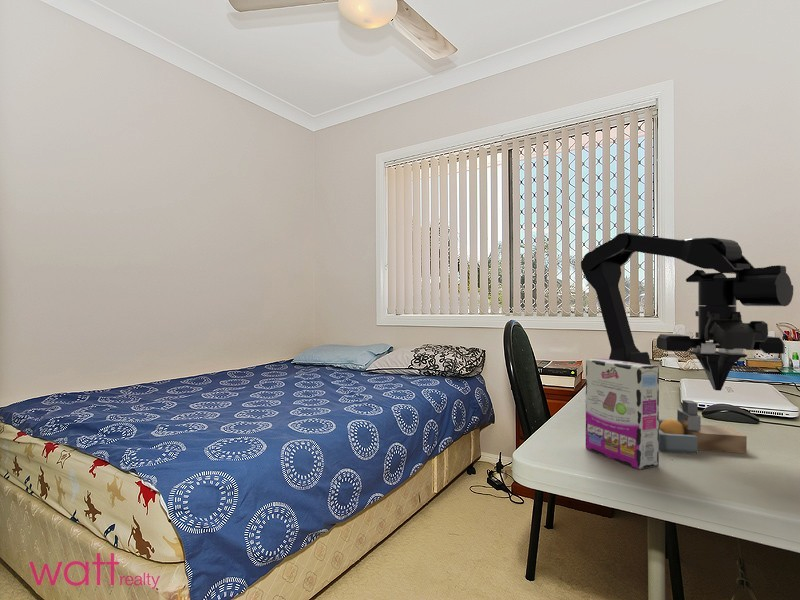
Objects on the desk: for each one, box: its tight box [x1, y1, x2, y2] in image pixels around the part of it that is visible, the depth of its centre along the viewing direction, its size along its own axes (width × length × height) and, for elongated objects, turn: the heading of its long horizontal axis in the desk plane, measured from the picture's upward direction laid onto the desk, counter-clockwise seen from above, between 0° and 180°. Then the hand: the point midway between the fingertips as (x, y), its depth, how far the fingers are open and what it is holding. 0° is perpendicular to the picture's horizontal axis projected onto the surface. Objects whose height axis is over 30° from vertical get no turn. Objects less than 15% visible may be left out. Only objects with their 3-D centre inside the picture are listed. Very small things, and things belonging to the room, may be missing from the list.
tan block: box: [684, 424, 748, 454], centre depth 80 cm, size 8×6×3 cm
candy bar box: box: [585, 358, 660, 470], centre depth 74 cm, size 11×5×16 cm, turn 23°
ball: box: [660, 418, 684, 435], centre depth 82 cm, size 4×4×4 cm
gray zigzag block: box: [676, 399, 702, 431], centre depth 81 cm, size 2×5×5 cm, turn 168°
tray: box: [659, 418, 698, 455], centre depth 82 cm, size 6×11×3 cm, turn 168°
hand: (717, 390), depth 80 cm, fingers closed
